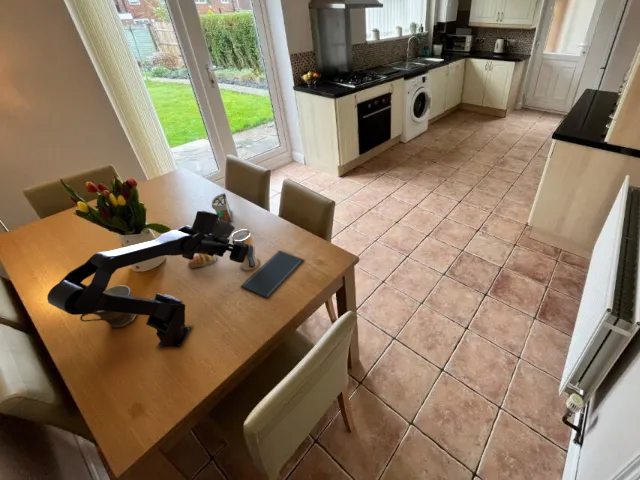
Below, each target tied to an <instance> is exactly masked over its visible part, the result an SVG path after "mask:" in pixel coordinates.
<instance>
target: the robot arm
mask: <svg viewBox="0 0 640 480" xmlns="http://www.w3.org/2000/svg"><path fill="white" fill-rule="evenodd" d="M219 216H220V215H218V214H217V213H213V212H211V211H206V210H197V211H196V214H195V218H194V221H193V224H192V226H191V225H187V224H185V225H183V226H181V227H179V228H177V229H173V230H170V231H167V232H164V233H162V234H160V235H159V236H158V237H157V238H156V239H152V240H149V241H144V242H141V243H136V244H132V245H128V246H124V247H120V248H117V249H116V248H115V249H113V250H108V251H99V252H96V253H94V254H93V255H91V257H89V258H88V259H87V261H86V262H84V263H83V264H81V265H79V266H78V267H76V268H74V269H72V270H70V271H69V272H68V273H67V274H66V275H65V276H64V277H63V278H62V279H61V280H60V281H59V282H58V283H57V284H55V285H54V286H53V287H52V288H50V290H49V292H48V293H47V298H46V299H47V302H48V304H50V305H51V306H53V307H55V308H56V309H59V310H61V311H63V312H65V313H67V314H68V315H73V316H78V315H79V316H80V315H82V314H88V315H92V314H91V313H94V312H97V311H111V312H120V313H130V314H137V315H141V316H148V318H147V321H146V323H145V324H146V326H149V327H151V328H153V329H155V330H156V331H157V332H155V334H156V336H157V338H158V339H159V343H158V344H157V345H158V346H157V347H158V348H180V347H181V346H182V344H183V343H184V341H185V339H186V337H187V336H188V334H189V332H190V331H191V329H192V327H191V326H186V324H185V323H186V304H184V303H183V300H181V299H179V298H177V297H175V296H172V295H170V294H166V293H165V294H161V293H160V292H159V293H158V292H156V293H155V296H154V297H152V298H146V297H140V296H135V295H132V296H128V295H122V294H116V293H110V292H104V291H105V290H106V289H108V285H109V283H110V281H111V278H112V276H113V274H115V272H116V271H117V270H120V269H122V268H125V267H130V266H133V265H136V264H139V263H144V262H146V261H149V260H152V259H156V258H159V257H164V256H165V257H166V256H169V257H170V256H173V257H175V256H182V258H184V259H186V260H188V261H189V260H192V259H193V257H195V254H196V255H198V254H207V255H209V256H213V255H214V256H217V257H220V258H221V257H222V258H224V254H226V252H230V254H229V260H230V261H232V262H235V263H238V264H241V263H243V262H244V260H245V257H246V256H247V255H248V254H249V253H250V250H248V248H249V245H248V244H244V243H241V242H236V243H235V244H234V245H233V243H230V241H231V239H230V237H231V236H232V234H233V233H234V231H235V229H236V227H235V226H234V225H233V224H232V223H231V222H230V223H229V222H226V221H223V220H221V221H220V220H219ZM91 276H93V277H92V280H91V282H90V283H89V284H85V283H83V281H84V280H86V279H88V278H89V277H91Z"/></svg>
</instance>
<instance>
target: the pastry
mask: <svg viewBox="0 0 640 480" xmlns="http://www.w3.org/2000/svg"><path fill="white" fill-rule="evenodd" d="M216 260H217V257H216V255H213V256H209V255H207V254H196V255H194V257H193V259H192V260H189V259H188V262H187V263H188V264H187V265H188V267H189V268H191V269H192V268H193V269H195V268H203V267H205V266H208V265H211V264H213V263H215V262H216Z"/></svg>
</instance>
